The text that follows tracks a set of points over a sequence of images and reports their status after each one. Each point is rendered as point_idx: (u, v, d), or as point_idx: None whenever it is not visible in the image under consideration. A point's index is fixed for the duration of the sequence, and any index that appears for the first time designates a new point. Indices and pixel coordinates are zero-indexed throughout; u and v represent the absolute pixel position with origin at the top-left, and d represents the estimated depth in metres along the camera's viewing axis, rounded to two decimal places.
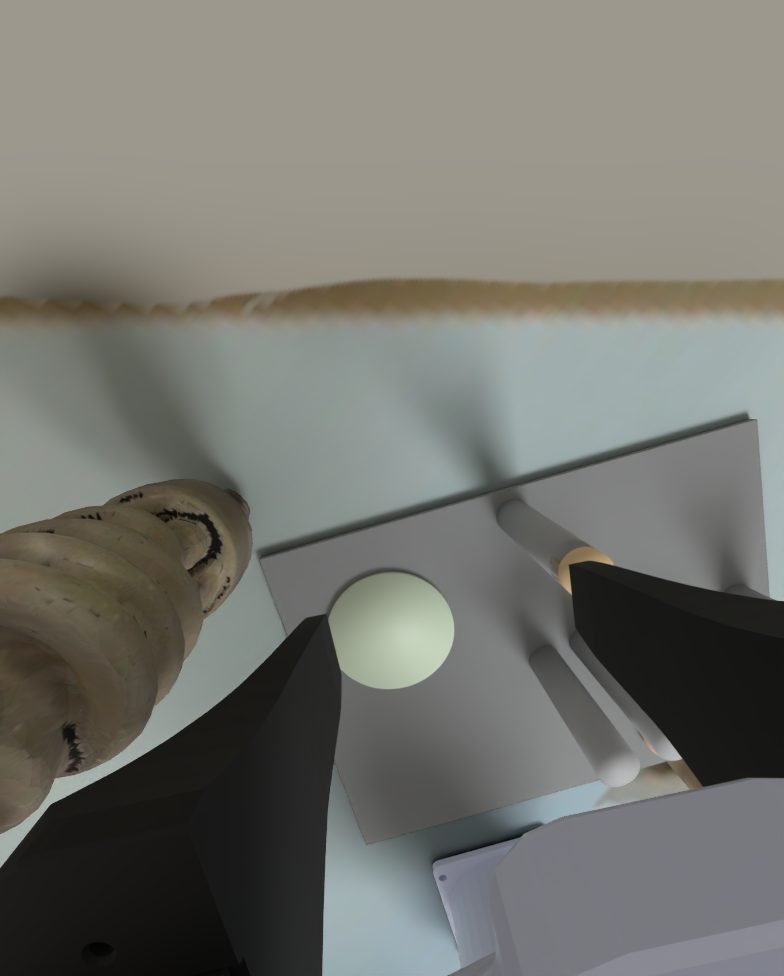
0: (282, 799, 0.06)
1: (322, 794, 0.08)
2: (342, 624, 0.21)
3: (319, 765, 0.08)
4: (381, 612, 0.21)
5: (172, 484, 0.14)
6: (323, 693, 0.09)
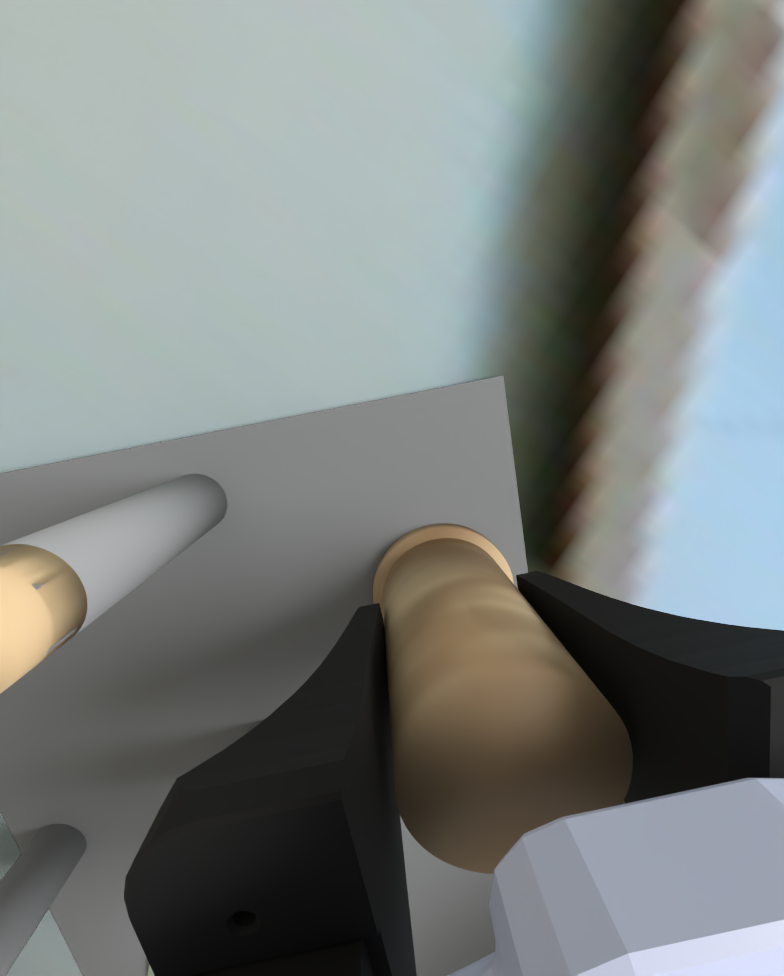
0: (377, 779, 0.06)
1: (393, 778, 0.08)
2: None
3: (389, 750, 0.08)
4: None
5: None
6: (385, 680, 0.10)
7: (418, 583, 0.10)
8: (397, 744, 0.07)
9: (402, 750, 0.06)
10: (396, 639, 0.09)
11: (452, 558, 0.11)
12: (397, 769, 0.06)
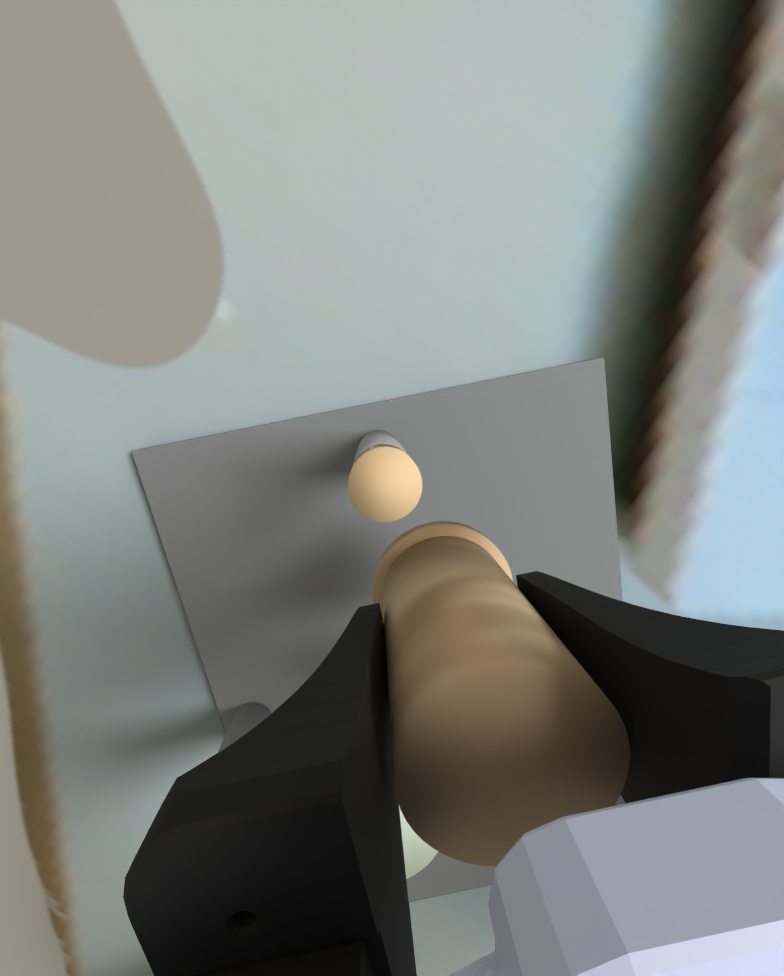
0: (377, 779, 0.06)
1: (393, 779, 0.08)
2: None
3: (389, 750, 0.08)
4: None
5: None
6: (385, 680, 0.10)
7: (418, 580, 0.10)
8: (397, 738, 0.07)
9: (402, 743, 0.06)
10: (396, 635, 0.09)
11: (451, 555, 0.11)
12: (397, 762, 0.06)
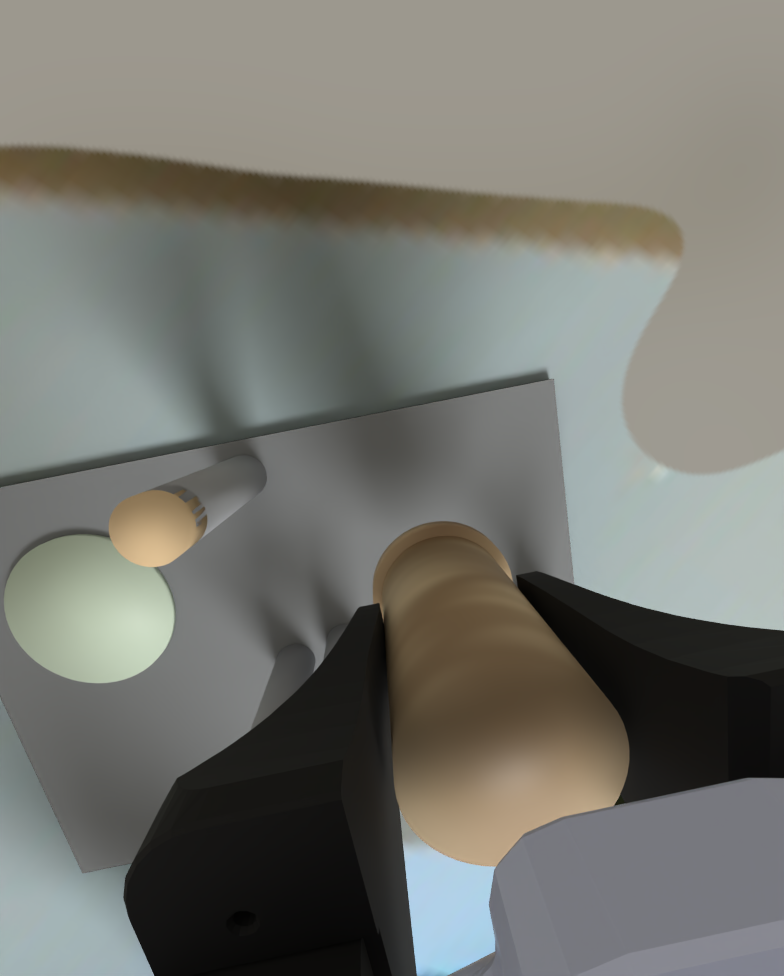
0: (377, 779, 0.06)
1: (393, 779, 0.08)
2: (24, 597, 0.17)
3: (389, 750, 0.08)
4: (74, 585, 0.17)
5: None
6: (385, 680, 0.10)
7: (417, 580, 0.10)
8: (396, 737, 0.07)
9: (401, 743, 0.06)
10: (395, 635, 0.09)
11: (451, 555, 0.11)
12: (396, 762, 0.06)
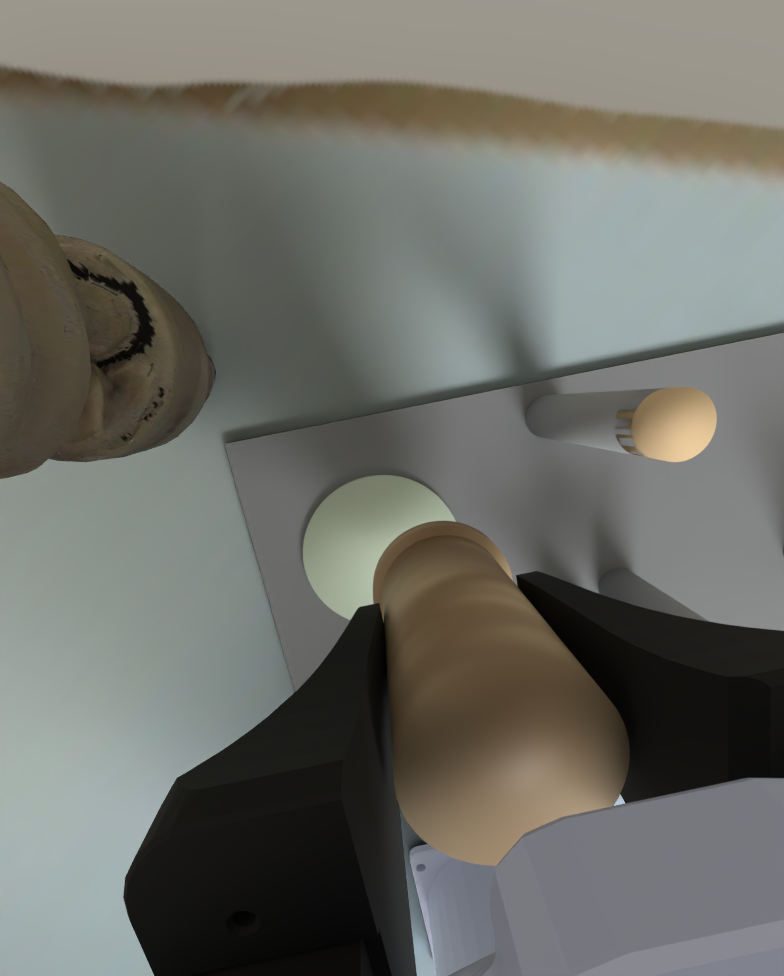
0: (377, 779, 0.06)
1: (393, 779, 0.08)
2: (323, 537, 0.17)
3: (389, 750, 0.08)
4: (373, 525, 0.17)
5: None
6: (385, 680, 0.10)
7: (417, 579, 0.10)
8: (396, 737, 0.07)
9: (401, 742, 0.06)
10: (395, 634, 0.09)
11: (451, 555, 0.11)
12: (396, 761, 0.06)
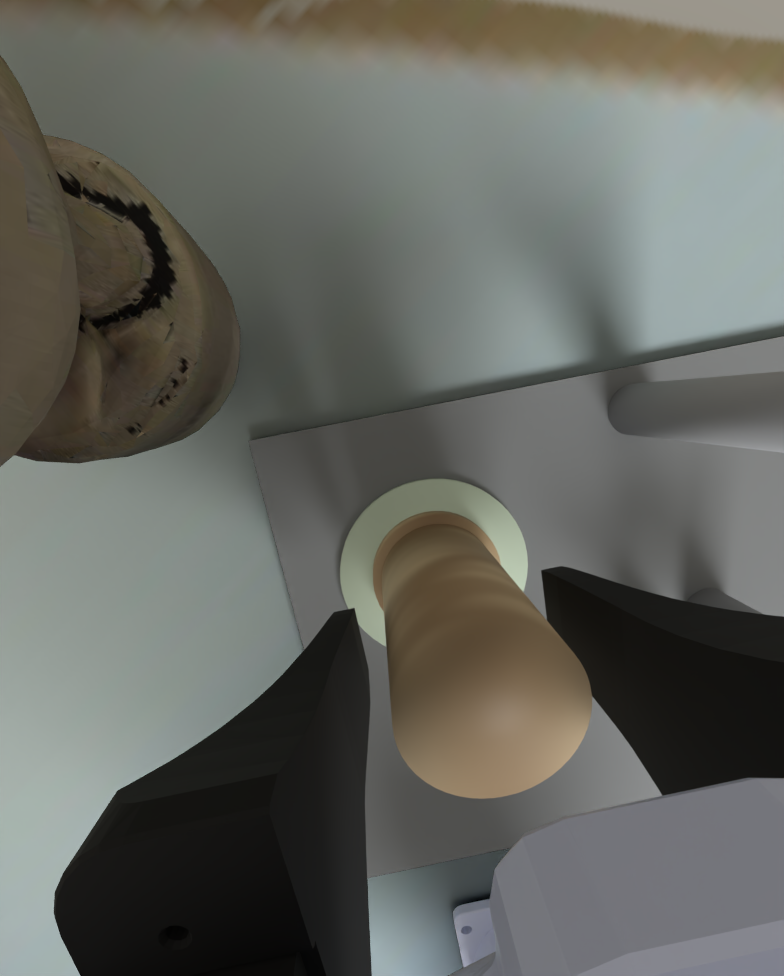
0: (332, 789, 0.06)
1: (360, 785, 0.08)
2: (365, 553, 0.14)
3: (356, 757, 0.08)
4: None
5: None
6: (356, 686, 0.09)
7: (413, 561, 0.11)
8: (394, 686, 0.08)
9: (398, 689, 0.08)
10: (393, 607, 0.10)
11: (444, 540, 0.12)
12: (394, 705, 0.08)
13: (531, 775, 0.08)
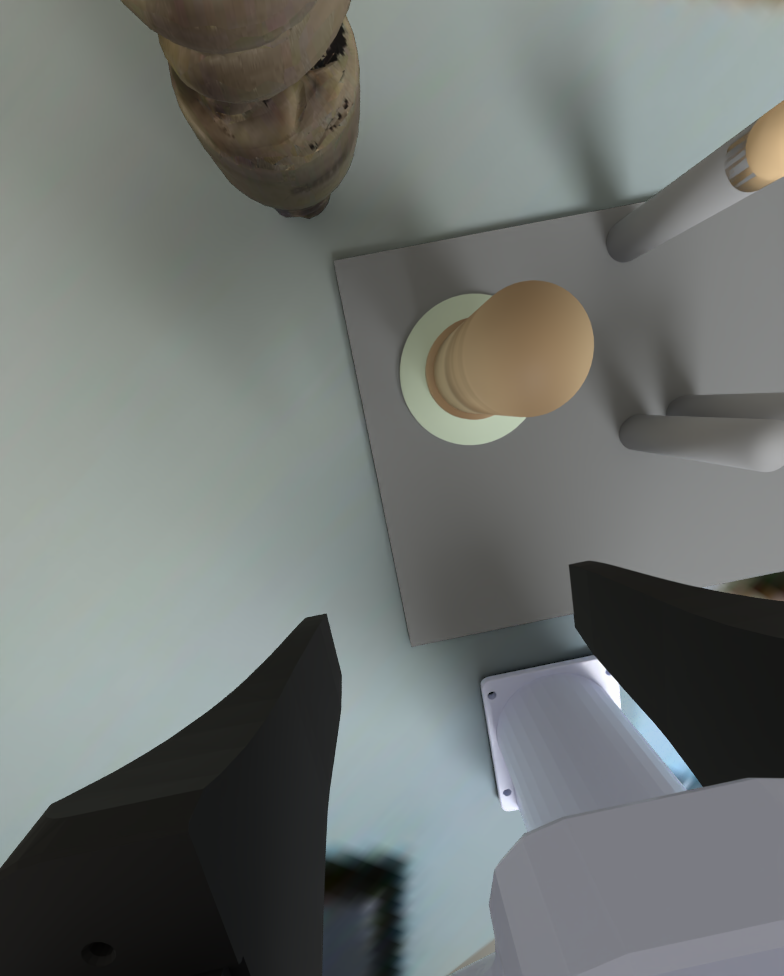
0: (282, 799, 0.06)
1: (322, 794, 0.08)
2: (419, 353, 0.19)
3: (319, 765, 0.08)
4: None
5: None
6: (323, 693, 0.09)
7: None
8: (466, 335, 0.12)
9: (470, 326, 0.12)
10: (454, 335, 0.15)
11: None
12: (467, 339, 0.12)
13: (554, 400, 0.13)
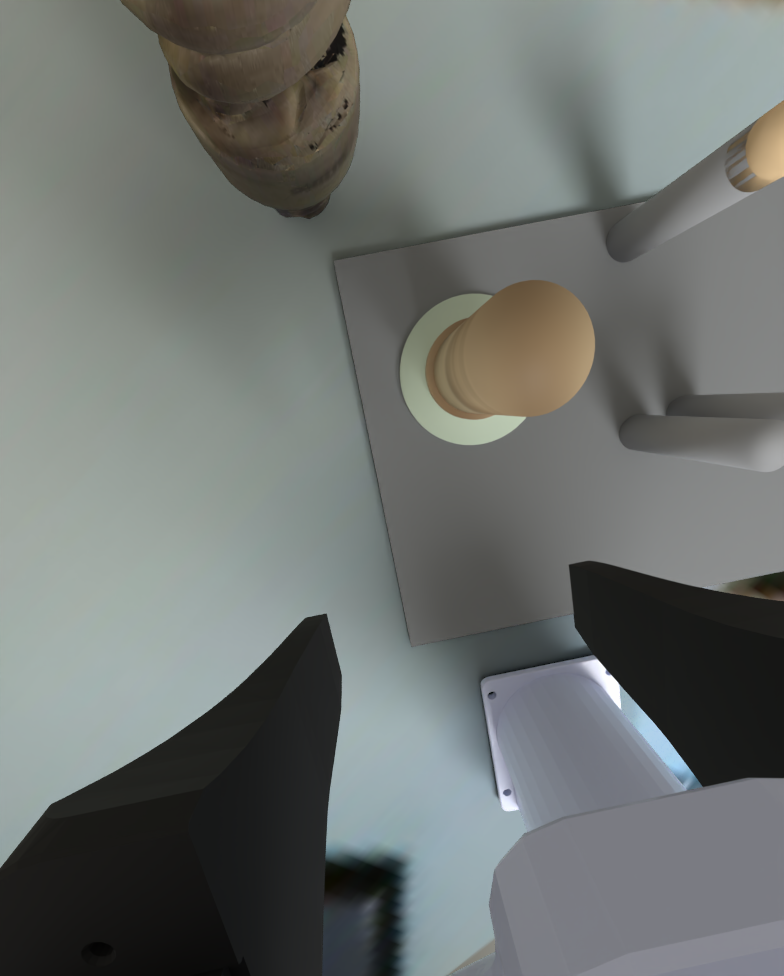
0: (282, 799, 0.06)
1: (322, 794, 0.08)
2: (419, 353, 0.19)
3: (319, 765, 0.08)
4: None
5: None
6: (323, 693, 0.09)
7: None
8: (467, 334, 0.12)
9: (471, 326, 0.12)
10: (455, 334, 0.15)
11: None
12: (468, 339, 0.12)
13: (555, 400, 0.13)
